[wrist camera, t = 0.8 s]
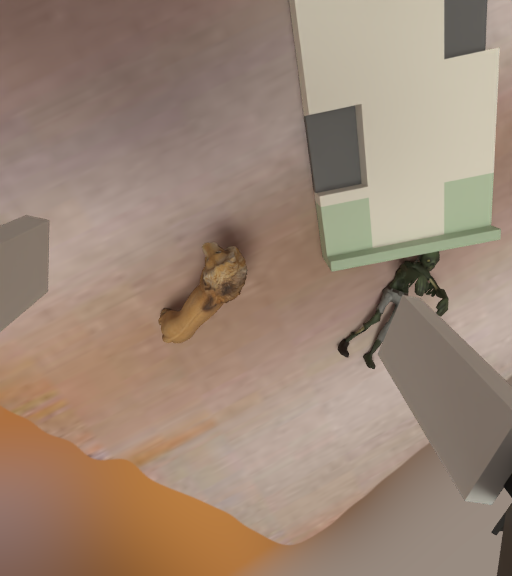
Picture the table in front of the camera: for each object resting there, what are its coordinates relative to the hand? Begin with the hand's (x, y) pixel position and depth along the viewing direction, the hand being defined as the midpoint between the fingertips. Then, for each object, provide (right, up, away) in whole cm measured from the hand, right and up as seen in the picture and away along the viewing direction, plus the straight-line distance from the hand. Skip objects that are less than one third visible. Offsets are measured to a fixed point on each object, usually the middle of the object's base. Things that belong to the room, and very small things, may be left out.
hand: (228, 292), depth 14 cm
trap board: (+13, +19, +20) cm, 31 cm away
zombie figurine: (+16, -1, +29) cm, 33 cm away
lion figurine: (-5, +1, +27) cm, 28 cm away
